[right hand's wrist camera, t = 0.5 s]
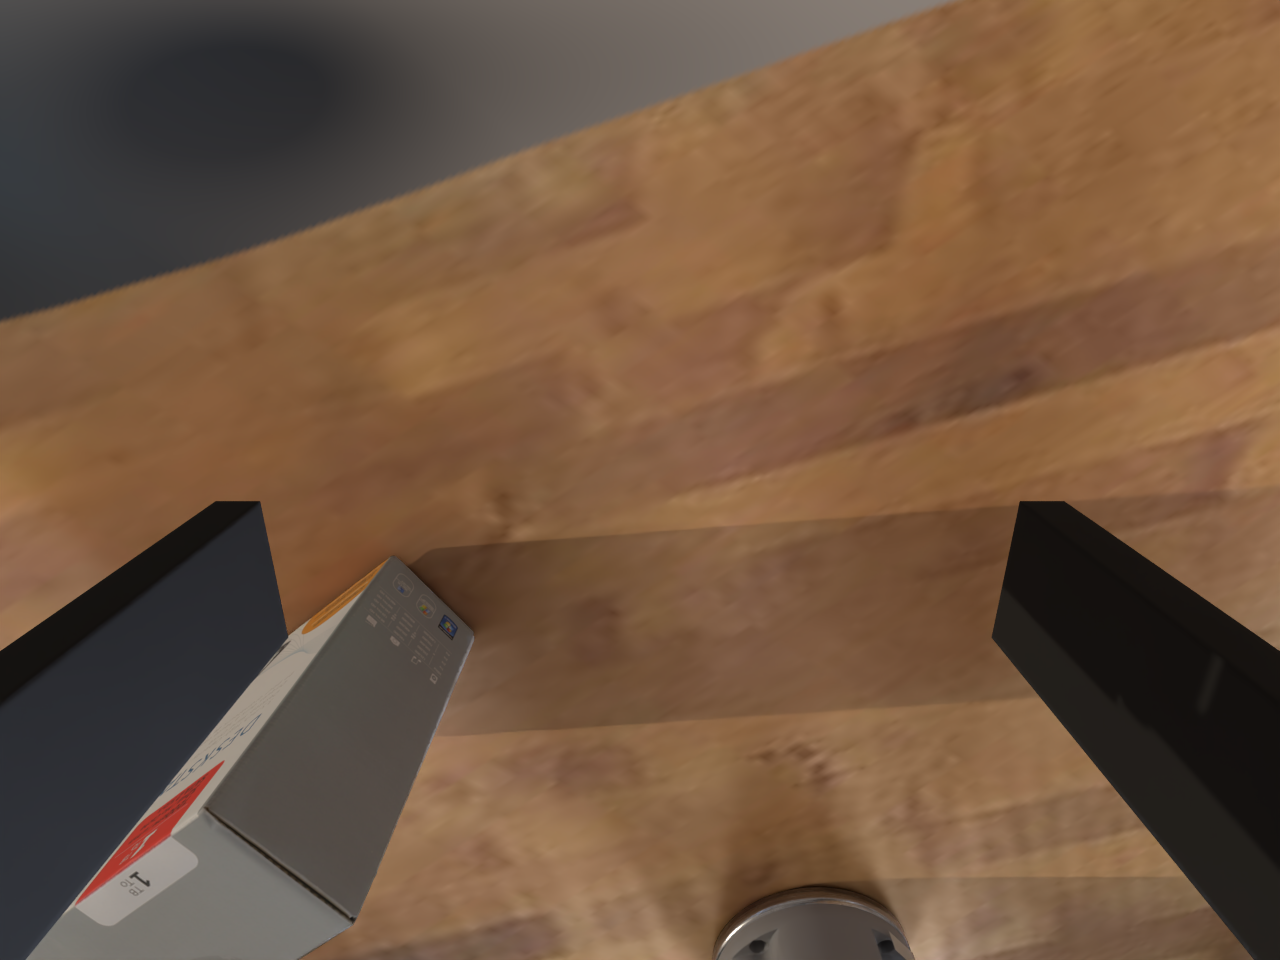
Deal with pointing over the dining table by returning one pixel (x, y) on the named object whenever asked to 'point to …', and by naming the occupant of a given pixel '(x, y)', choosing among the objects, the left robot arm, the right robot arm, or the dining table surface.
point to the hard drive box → (283, 792)
